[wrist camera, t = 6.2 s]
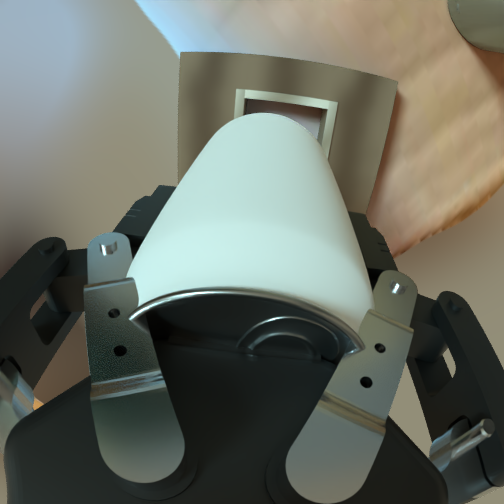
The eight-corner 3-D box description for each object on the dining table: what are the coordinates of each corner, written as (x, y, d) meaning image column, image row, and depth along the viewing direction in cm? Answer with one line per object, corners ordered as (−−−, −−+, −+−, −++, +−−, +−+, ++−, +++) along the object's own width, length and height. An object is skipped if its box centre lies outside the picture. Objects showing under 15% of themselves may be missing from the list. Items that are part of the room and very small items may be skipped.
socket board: (387, 78, 26) (398, 82, 23) (352, 226, 37) (357, 241, 34) (189, 51, 26) (179, 52, 24) (185, 206, 37) (178, 220, 34)
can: (350, 176, 16) (431, 380, 6) (262, 243, 19) (243, 447, 9) (265, 84, 13) (229, 183, 4) (178, 170, 16) (63, 356, 7)
